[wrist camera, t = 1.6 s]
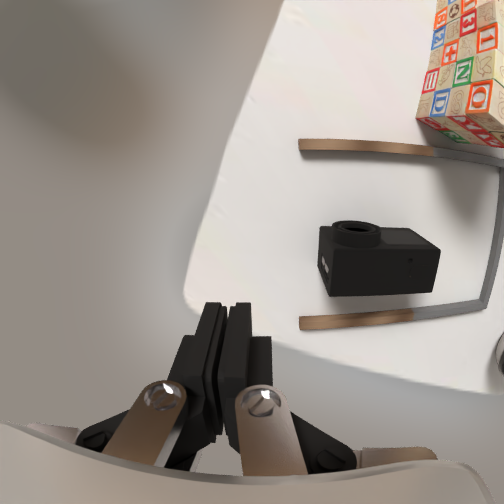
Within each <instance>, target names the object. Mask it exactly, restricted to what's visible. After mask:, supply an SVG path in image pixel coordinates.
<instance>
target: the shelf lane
mask: <svg viewBox="0 0 504 504" xmlns="http://www.w3.org/2000/svg"><path fill="white" fill-rule="evenodd" d="M298 143H299V150H357V151H377V152H392V153H404V154H415V155H425V156H433V147H430V146H422V145H414V144H404V143H394V142H381V141H366V140H346V139H298ZM413 317H414V312H413V311H412V310H411V308H409V309H400V310H389V311H378V312H367V313H354V314H339V315H322V316H301V317H299V328H300V330H306V329H325V328H340V327H353V326H365V325H376V324H386V323H395V322H404V321H412V320H413Z"/></svg>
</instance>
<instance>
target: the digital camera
mask: <svg viewBox="0 0 504 504" xmlns="http://www.w3.org/2000/svg"><path fill="white" fill-rule="evenodd" d="M440 253H441V250H440V249H439V248H437V247H436V246H435V245H433V244H432V243H430V242H429V241H427V240H426V239H424V238H423V237H421V236H420V235H419V234H417V233H416V232H414V231H413V230H411V229H410V228H386V227H379V226H376V225H374V224H371V223H367V222H361V221H338V222H335V223H333V224H332V226H321V227H320V233H319V250H318V265H317V266H318V268H319V271H320V274H321V276H322V279H323V282H324V285H325V287H326V290H327V293H328V295H329V297H337V296H375V295H398V294H415V293H430V292H432V290H433V286H434V282H435V277H436V273H437V268H438V264H439V259H440Z"/></svg>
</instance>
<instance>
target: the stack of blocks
mask: <svg viewBox="0 0 504 504" xmlns="http://www.w3.org/2000/svg"><path fill="white" fill-rule="evenodd" d="M416 119H417V120H419V121H421V122H423V123H425V124H426V125H428V126H430V127H432V128H434V129H435V130H438V131H439V132H441V133H443V134H444V135H446V136H448V137H449V138H451V139H452V140H454V141H455V142H457V143H468V144H478V145H486V146H491V147H499V148H504V0H437V7H436V16H435V23H434V34H433V41H432V47H431V54H430V59H429V65H428V70H427V72H426V76H425V81H424V85H423V90H422V95H421V97H420V101H419V105H418V109H417V113H416Z"/></svg>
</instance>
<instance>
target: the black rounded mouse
mask: <svg viewBox="0 0 504 504" xmlns="http://www.w3.org/2000/svg"><path fill="white" fill-rule="evenodd" d="M496 359H497V363H498V368H499V371H500V373H501V374H502V375H503V376H504V334H503V335H502V337H501V339H500V341H499V343H498V346H497V351H496Z"/></svg>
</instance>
